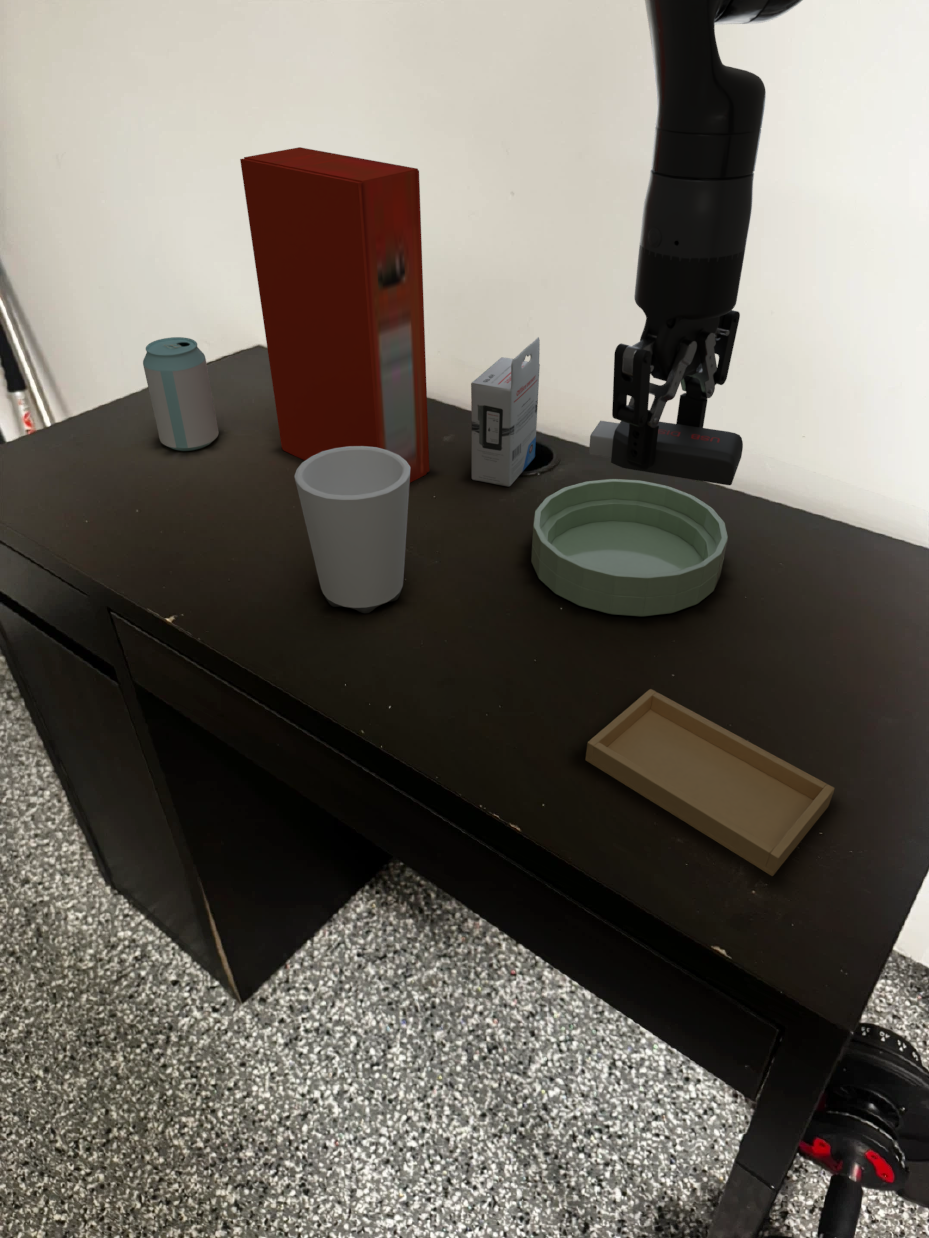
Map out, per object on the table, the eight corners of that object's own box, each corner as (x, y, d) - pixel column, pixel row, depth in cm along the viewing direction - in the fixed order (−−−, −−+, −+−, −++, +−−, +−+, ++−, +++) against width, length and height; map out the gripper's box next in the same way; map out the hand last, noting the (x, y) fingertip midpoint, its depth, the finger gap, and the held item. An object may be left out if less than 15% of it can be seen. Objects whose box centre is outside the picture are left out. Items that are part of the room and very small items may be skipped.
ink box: (497, 449, 107) (501, 329, 99) (536, 457, 106) (543, 335, 97) (468, 480, 101) (469, 354, 92) (509, 488, 100) (514, 361, 91)
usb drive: (731, 486, 70) (737, 454, 69) (585, 462, 74) (587, 431, 73) (740, 459, 74) (746, 428, 73) (601, 437, 78) (604, 407, 76)
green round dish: (753, 561, 88) (762, 522, 85) (649, 644, 77) (656, 602, 74) (603, 499, 98) (607, 462, 95) (493, 565, 87) (495, 526, 84)
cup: (290, 588, 84) (272, 467, 76) (375, 552, 89) (366, 435, 81) (349, 637, 78) (336, 511, 70) (436, 596, 83) (433, 473, 75)
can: (171, 428, 112) (151, 334, 105) (225, 429, 112) (209, 335, 105) (153, 453, 107) (130, 355, 100) (210, 454, 106) (192, 356, 99)
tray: (828, 806, 62) (835, 787, 61) (772, 876, 58) (778, 858, 57) (647, 706, 71) (650, 688, 70) (585, 760, 66) (587, 741, 65)
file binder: (378, 498, 98) (357, 181, 79) (280, 451, 107) (239, 157, 88) (429, 473, 103) (421, 168, 83) (330, 430, 112) (303, 146, 93)
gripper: (682, 269, 58) (653, 496, 68) (788, 230, 66) (748, 437, 76) (590, 250, 62) (575, 466, 72) (701, 215, 70) (674, 414, 80)
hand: (664, 451), depth 74 cm, fingers closed on usb drive, 6 cm apart
